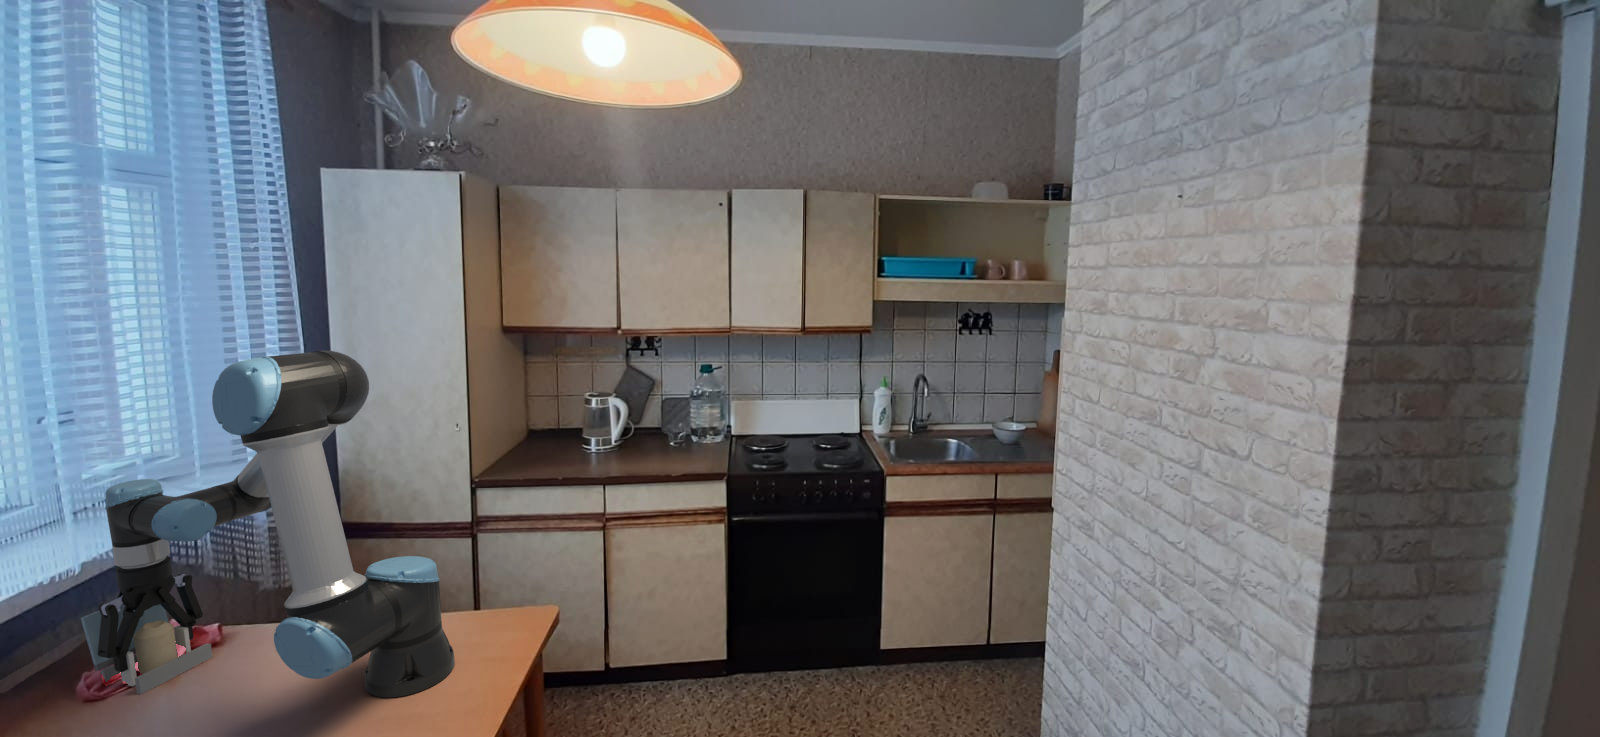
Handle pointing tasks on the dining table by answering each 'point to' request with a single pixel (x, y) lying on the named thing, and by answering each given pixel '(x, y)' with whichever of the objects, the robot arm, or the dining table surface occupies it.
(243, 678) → the dining table surface
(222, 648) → the dining table surface
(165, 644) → the candle
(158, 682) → the grey panel stand
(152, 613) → the cover
